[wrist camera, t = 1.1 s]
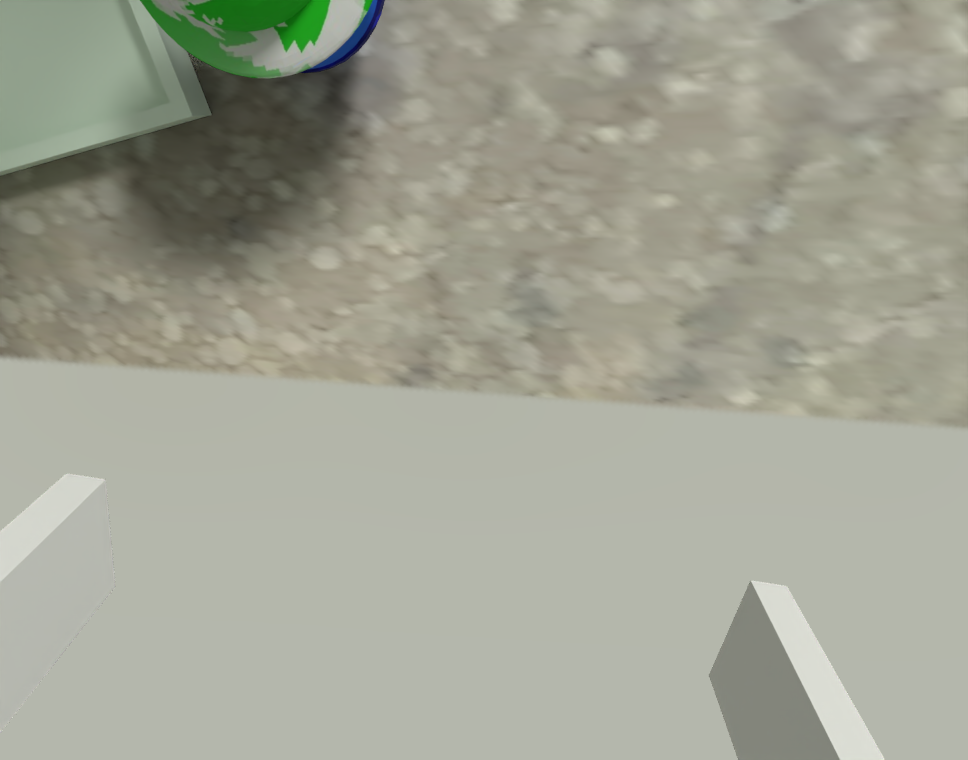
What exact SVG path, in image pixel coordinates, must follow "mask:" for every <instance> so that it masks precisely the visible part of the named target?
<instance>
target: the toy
mask: <svg viewBox="0 0 968 760" xmlns="http://www.w3.org/2000/svg"><path fill="white" fill-rule="evenodd" d="M140 1H141V3H142V4H143V5H144V7H145V8H146V9H147V11H148V12H149V14H150V15H151V16H152V18H153V19H154V20H155V21H156V22H157V23H158V25H159V26H160V27H161V28H162V29H163V30H164V31H165V32H166V33H167V34H168V35H169V36H170V37H171V38H172V39H173V40H174V41H175V42H176V43H177V44H178V45H180V46H181V47H182V48H183V49H185V50H186V51H188V52H189V53H190V54H192V55H193V56H194V57H196V58H198V59H200V60H201V61H203V62H205V63H207V64H209V65H211V66H213V67H215V68H217V69H220V70H223V71H225V72H228V73H231V74H235V75H240V76H245V77H250V78H278V77H285V76H289V75H293V74H297V73H311V72H320V71H323V70H327V69H330V68H333V67H335V66H337V65H339V64H341V63H343V62H345V61H346V60H347V59H349V58H350V57H351V56H352V55H354V54H355V53H356V52H357V51H359V49H360V48H361V47H362V46H363V45H364V44H365V42H366V41H367V40H368V39H369V37H370V35H371V34H372V32H373V31H374V29H375V27H376V25H377V22H378V20H379V18H380V16H381V12H382V9H383V5H384V1H385V0H140Z"/></svg>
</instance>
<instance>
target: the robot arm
mask: <svg viewBox="0 0 968 760" xmlns="http://www.w3.org/2000/svg"><path fill="white" fill-rule="evenodd" d="M114 588H115V576H114V564H113V554H112V542H111V531H110V521H109V509H108V498H107V487H106V480H105V479H100V478H93V477H87V476H80V475H74V474H68V473H66V474H65V475H64V476H63V477H62V478H61V479H59V480H58V481H57V482H56V483H55V484H54V485H52V486H51V487H50V488H49V489H48V490H47V491H46V492H44V493H43V494H42V495H41V496H40V497H39V498H38V499H36V500H35V501H34V502H33V503H32V504H31V505H30V506H28V507H27V508H26V509H25V510H24V511H23V512H22V513H20V514H19V515H18V516H17V517H16V518H15V519H14V520H12V521H11V522H10V523H9V524H8V525H7V526H6V527H5V528H3V529H2V530H1V531H0V733H1V731H2V730H3V729H4V727H5V726H6V725H7V724H8V722H9V721H10V720H11V719H12V717H13V716H14V715H15V713H16V712H17V711H18V710H19V708H20V707H21V706H22V705H23V703H24V702H25V701H26V700H27V698H28V697H29V696H30V694H31V693H32V692H33V690H34V689H35V688H36V687H37V685H38V684H39V683H40V682H41V680H42V679H43V678H44V677H45V675H46V674H47V673H48V672H49V670H50V669H51V668H52V666H53V665H54V664H55V663H56V661H57V660H58V659H59V658H60V656H61V655H62V654H63V652H64V651H65V650H66V649H67V647H68V646H69V645H70V644H71V642H72V641H73V640H74V638H75V637H76V636H77V635H78V633H79V632H80V631H81V629H82V628H83V627H84V626H85V624H86V623H87V622H88V621H89V619H90V618H91V617H92V616H93V614H94V613H95V612H96V610H97V609H98V608H99V607H100V605H101V604H102V603H103V602H104V600H105V599H106V598H107V597H108V595H109V594H110V593H111V591H112V590H113V589H114ZM709 677H710V680H711V682H712V686H713V688H714V691H715V694H716V697H717V700H718V703H719V705H720V709H721V711H722V714H723V717H724V720H725V723H726V726H727V729H728V732H729V735H730V737H731V740H732V743H733V746H734V749H735V752H736V755H737V757H738V760H885V759H884V757H883V756H882V754H881V752H880V750H879V748H878V747H877V745H876V743H875V741H874V740H873V738H872V736H871V734H870V733H869V731H868V729H867V727H866V725H865V724H864V722H863V720H862V718H861V717H860V715H859V713H858V711H857V710H856V708H855V706H854V704H853V702H852V701H851V699H850V697H849V695H848V694H847V692H846V690H845V688H844V687H843V685H842V683H841V681H840V680H839V678H838V676H837V674H836V672H835V671H834V669H833V667H832V665H831V664H830V662H829V660H828V658H827V657H826V655H825V653H824V651H823V649H822V648H821V646H820V644H819V643H818V641H817V639H816V637H815V635H814V634H813V632H812V630H811V628H810V626H809V625H808V623H807V621H806V619H805V618H804V616H803V614H802V613H801V611H800V609H799V607H798V605H797V604H796V602H795V600H794V598H793V597H792V595H791V593H790V591H789V589H788V588H787V586H783V585H776V584H771V583H764V582H757V581H750V583H749V585H748V587H747V590H746V592H745V594H744V597H743V599H742V601H741V604H740V606H739V608H738V610H737V613H736V615H735V617H734V619H733V622H732V624H731V626H730V628H729V631H728V633H727V635H726V638H725V640H724V642H723V644H722V647H721V649H720V651H719V654H718V656H717V658H716V660H715V663H714V665H713V667H712V670H711V672H710V674H709Z"/></svg>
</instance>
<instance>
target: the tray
mask: <svg viewBox="0 0 968 760" xmlns="http://www.w3.org/2000/svg"><path fill="white" fill-rule="evenodd" d="M210 115H212V114H211V111H210V109H209V106H208V104H207V101H206V99H205V96H204V93H203V91H202V88H201V86H200V83H199V81H198V78H197V75H196V73H195V70H194V68H193V65H192V63H191V60H190V57H189V55H188V52H187V51H186V50H185V49H183V48H182V47H181V46H180V45H178V44H177V43H176V42H175V41H174V40H173V39H172V38H171V37H170V36H169V35H168V34H167V33H166V32H165V31H164V30H163V29H162V28H161V27H160V26H159V25H158V23H157V22H156V21H155V20H154V19H153V18H152V16H151V15H150V14H149V12H148V11H147V9H146V8H145V7H144V5H143V4H142V3H141V1H140V0H0V176H1V175H5V174H8V173H12V172H15V171H19V170H22V169H26V168H29V167H33V166H36V165H40V164H43V163H47V162H50V161H53V160H57V159H60V158H64V157H67V156H71V155H74V154H78V153H81V152H85V151H88V150H92V149H95V148H99V147H102V146H105V145H109V144H112V143H116V142H119V141H123V140H126V139H130V138H133V137H137V136H140V135H144V134H147V133H151V132H154V131H158V130H161V129H164V128H168V127H171V126H175V125H178V124H182V123H185V122H189V121H192V120H196V119H199V118H203V117H206V116H210Z"/></svg>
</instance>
